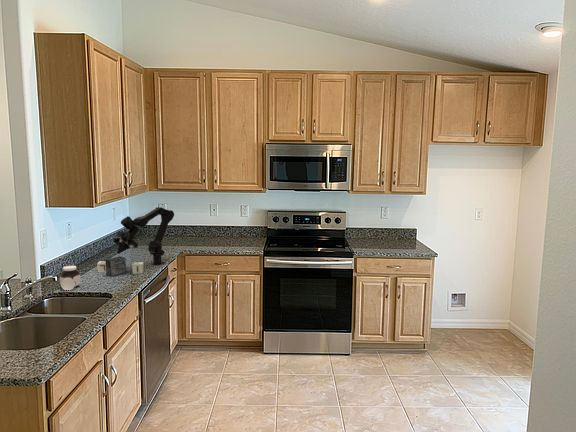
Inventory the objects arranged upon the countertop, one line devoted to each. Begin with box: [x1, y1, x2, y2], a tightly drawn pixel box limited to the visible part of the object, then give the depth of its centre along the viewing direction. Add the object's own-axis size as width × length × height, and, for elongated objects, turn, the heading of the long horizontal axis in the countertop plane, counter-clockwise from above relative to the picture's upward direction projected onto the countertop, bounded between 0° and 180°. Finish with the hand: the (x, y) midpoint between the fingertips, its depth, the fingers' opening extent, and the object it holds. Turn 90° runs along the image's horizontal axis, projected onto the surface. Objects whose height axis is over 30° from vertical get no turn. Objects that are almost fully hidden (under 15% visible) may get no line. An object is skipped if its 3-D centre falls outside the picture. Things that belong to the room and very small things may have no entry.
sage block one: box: [131, 261, 144, 275], centre depth 287 cm, size 6×6×6 cm
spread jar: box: [59, 265, 82, 292], centre depth 251 cm, size 12×11×12 cm
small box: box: [104, 256, 127, 277], centre depth 282 cm, size 11×6×10 cm, turn 141°
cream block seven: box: [96, 260, 106, 273], centre depth 289 cm, size 6×6×6 cm
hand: (117, 253), depth 282 cm, fingers closed
